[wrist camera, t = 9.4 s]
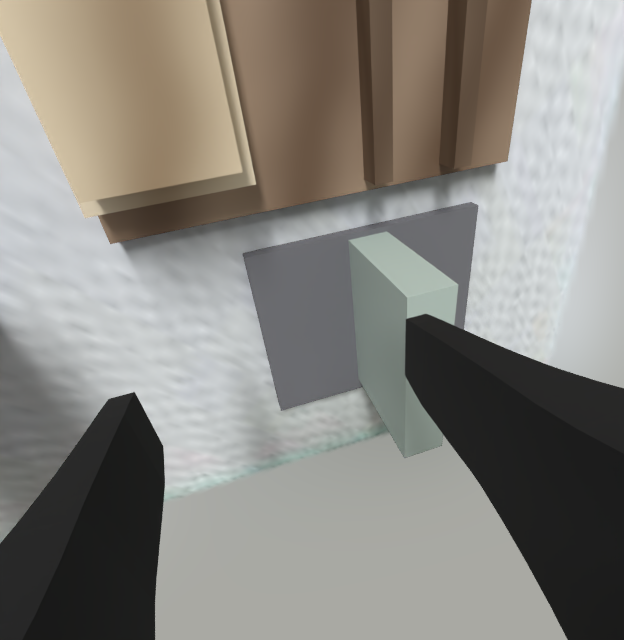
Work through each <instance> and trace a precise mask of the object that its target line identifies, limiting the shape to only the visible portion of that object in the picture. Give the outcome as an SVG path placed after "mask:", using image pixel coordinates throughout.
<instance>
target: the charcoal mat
mask: <svg viewBox="0 0 624 640" xmlns="http://www.w3.org/2000/svg"><path fill="white" fill-rule="evenodd" d="M477 212H478V205H476V204H474V203H472V202H470V203H465V204H461V205H457V206H452V207H448V208H443V209H439V210H434V211H430V212H425V213H421V214H416V215H412V216H407V217H403V218H399V219H394V220H390V221H385V222H381V223H376V224H372V225H367V226H363V227H358V228H354V229H349V230H345V231H340V232H336V233H332V234H327V235H323V236H318V237H314V238H309V239H305V240H300V241H296V242H291V243H287V244H282V245H278V246H273V247H269V248H265V249H260V250H256V251H251V252H247V253H243V257H244V261H245V265H246V269H247V273H248V277H249V281H250V285H251V290H252V294H253V298H254V302H255V306H256V310H257V314H258V318H259V323H260V327H261V331H262V335H263V339H264V343H265V347H266V351H267V356H268V360H269V364H270V368H271V372H272V376H273V380H274V384H275V389H276V393H277V397H278V401H279V405H280V408H281V411H282V410H285V409H289V408H292V407H295V406H299V405H302V404H306V403H309V402H312V401H316V400H319V399H323V398H326V397H329V396H333V395H336V394H340V393H343V392H346V391H350V390H353V389H357V388H360V387H363V386H362V384H361V382H360V380H359V376H358V363H357V349H356V336H355V322H354V308H353V295H352V281H351V268H350V254H349V241H348V240H352V239H356V238H360V237H365V236H369V235H374V234H378V233H382V232H388V233H390V234H391V235H393V236H394V237H395V238H397V239H398V240H399V241H401V242H402V243H403V244H405V245H406V246H407V247H409V248H410V249H411V250H413V251H414V252H415V253H417V254H418V255H419V256H421V257H422V258H423V259H425V260H426V261H427V262H429V263H430V264H432V265H433V266H434V267H436V268H437V269H438V270H440V271H441V272H442V273H444V274H445V275H446V276H448V277H449V278H450V279H452V280H453V281H454V282H456V283H457V284H458V294H457V303H456V313H455V323H454V326H456V327H458V328H461V329H463V330H464V322H465V314H466V305H467V297H468V288H469V280H470V271H471V263H472V254H473V246H474V238H475V229H476V221H477Z"/></svg>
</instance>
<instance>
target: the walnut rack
mask: <svg viewBox="0 0 624 640" xmlns="http://www.w3.org/2000/svg"><path fill="white" fill-rule="evenodd" d="M219 1H220V6H221V11H222V16H223V21H224V26H225V31H226V36H227V41H228V46H229V51H230V56H231V61H232V66H233V71H234V76H235V81H236V86H237V91H238V96H239V101H240V106H241V111H242V116H243V121H244V126H245V131H246V136H247V141H248V146H249V151H250V156H251V161H252V166H253V171H254V176H255V181H256V185H251V186H246V187H241V188H236V189H231V190H226V191H221V192H216V193H211V194H205V195H200V196H195V197H190V198H185V199H180V200H175V201H170V202H165V203H160V204H154V205H149V206H144V207H139V208H134V209H129V210H124V211H119V212H114V213H109V214H104V215H98V217H99V219H100V222H101V224H102V226H103V228H104V231H105V233H106V235H107V237H108V240H109V242H110V244H113V243H117V242H122V241H127V240H132V239H137V238H141V237H146V236H151V235H156V234H161V233H165V232H170V231H175V230H180V229H184V228H189V227H194V226H199V225H204V224H208V223H213V222H218V221H223V220H228V219H232V218H237V217H242V216H247V215H252V214H256V213H261V212H266V211H271V210H276V209H280V208H285V207H290V206H295V205H300V204H304V203H309V202H314V201H319V200H324V199H328V198H333V197H338V196H343V195H348V194H352V193H357V192H362V191H367V190H372V189H376V188H381V187H386V186H391V185H396V184H400V183H405V182H410V181H415V180H420V179H424V178H429V177H434V176H439V175H444V174H448V173H453V172H458V171H463V170H467V169H472V168H477V167H482V166H487V165H491V164H496V163H501V162H506V161H508V154H509V147H510V141H511V134H512V127H513V121H514V114H515V108H516V101H517V94H518V88H519V81H520V74H521V68H522V61H523V54H524V48H525V41H526V35H527V28H528V21H529V15H530V8H531V1H532V0H219Z"/></svg>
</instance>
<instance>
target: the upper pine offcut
mask: <svg viewBox="0 0 624 640" xmlns="http://www.w3.org/2000/svg"><path fill="white" fill-rule="evenodd" d="M0 32H1V35H2V37H3V39H4V41H5V43H6V45H7V48H8V50H9V52H10V54H11V56H12V58H13V60H14V63H15V65H16V67H17V69H18V71H19V73H20V76H21V78H22V80H23V82H24V84H25V86H26V89H27V91H28V93H29V95H30V97H31V99H32V102H33V104H34V106H35V108H36V110H37V112H38V115H39V117H40V119H41V121H42V123H43V125H44V128H45V130H46V132H47V134H48V136H49V138H50V141H51V143H52V145H53V147H54V149H55V151H56V154H57V156H58V158H59V160H60V162H61V164H62V167H63V169H64V171H65V173H66V175H67V177H68V179H69V182H70V184H71V186H72V188H73V190H74V192H75V195H76V197H77V199H78V201H79V203H84V202H89V201H94V200H100V199H105V198H110V197H115V196H121V195H126V194H131V193H136V192H142V191H147V190H152V189H157V188H163V187H168V186H173V185H178V184H184V183H189V182H194V181H199V180H205V179H210V178H215V177H221V176H226V175H231V174H236V173H242V172H243V171H242V166H241V162H240V157H239V152H238V148H237V143H236V138H235V134H234V129H233V124H232V120H231V115H230V110H229V106H228V101H227V97H226V92H225V87H224V83H223V78H222V73H221V69H220V64H219V59H218V55H217V50H216V45H215V41H214V36H213V31H212V27H211V22H210V17H209V13H208V8H207V4H206V0H0Z"/></svg>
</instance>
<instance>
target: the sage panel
mask: <svg viewBox="0 0 624 640" xmlns="http://www.w3.org/2000/svg"><path fill="white" fill-rule="evenodd" d="M348 241H349V254H350V268H351V281H352V295H353V308H354V322H355V336H356V349H357V363H358V376H359V380H360V382H361V384H362V386H363V387H364V389H365V391H366V393H367V394H368V396H369V398H370V399H371V401H372V403H373V405H374V406H375V408H376V410H377V412H378V413H379V415H380V417H381V419H382V420H383V422H384V424H385V425H386V427H387V429H388V431H389V432H390V434H391V436H392V438H393V439H394V441H395V443H396V444H397V446H398V448H399V450H400V451H401V453H402V455H403V457H404V458H406V457H410V456H413V455H415V454H419V453H422V452H425V451H428V450H430V449H434V448H437V447H440V446H442V440H443V433H442V432H441V431H440V429H439V428H438V427H437V425H436V424H435V423H434V421H433V420H432V419H431V417H430V416H429V415H428V413H427V412H426V410H425V409H424V408H423V406H422V405H421V403H420V401H419V400H418V398H417V396H416V395H415V393H414V391H413V389H412V387H411V386H410V384H409V382H408V380H407V378H406V376H405V332H406V319H408V318H411V317H415V316H419V315H422V314H429V315H431V316H434V317H436V318H438V319H441V320H443V321H445V322H447V323H450V324H452V325H454V323H455V313H456V303H457V294H458V284H457V283H456V282H454V281H453V280H452V279H450V278H449V277H448V276H446V275H445V274H444V273H442V272H441V271H440V270H438V269H437V268H436V267H434V266H433V265H432V264H430V263H429V262H427V261H426V260H425V259H423V258H422V257H421V256H419V255H418V254H417V253H415V252H414V251H413V250H411V249H410V248H409V247H407V246H406V245H405V244H403V243H402V242H401V241H399V240H398V239H397V238H395V237H394V236H393V235H391V234H390V233H388V232H382V233H378V234H374V235H369V236H365V237H360V238H356V239H352V240H348Z"/></svg>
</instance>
